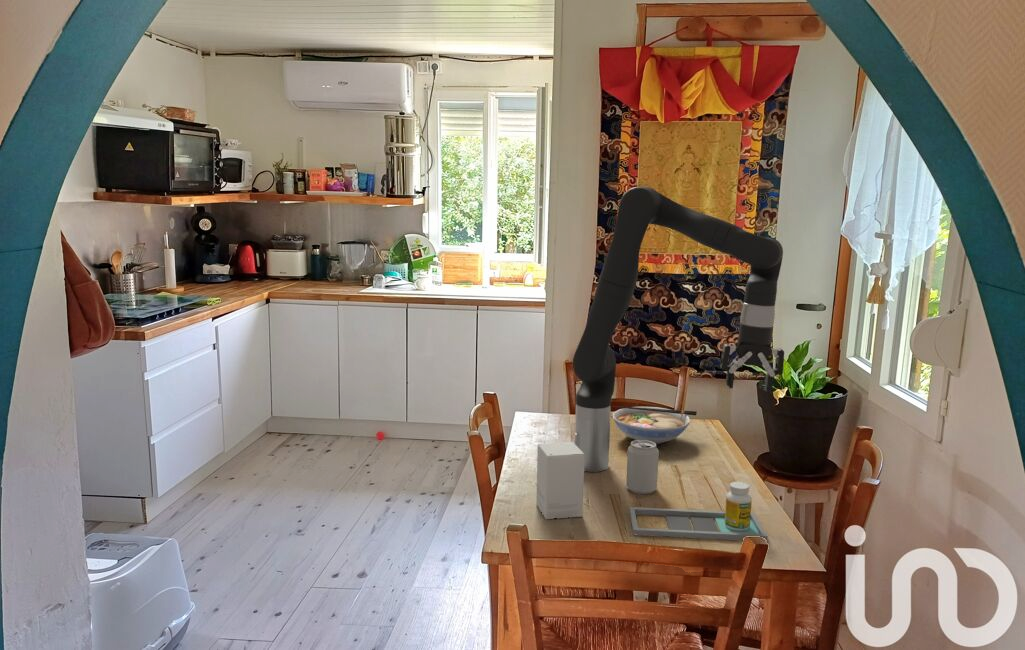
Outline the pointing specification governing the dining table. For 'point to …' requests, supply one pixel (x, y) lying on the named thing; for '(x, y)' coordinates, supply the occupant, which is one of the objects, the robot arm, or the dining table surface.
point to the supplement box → (560, 480)
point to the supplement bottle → (738, 507)
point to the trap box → (695, 524)
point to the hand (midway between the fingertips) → (748, 389)
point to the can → (642, 467)
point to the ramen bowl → (652, 423)
